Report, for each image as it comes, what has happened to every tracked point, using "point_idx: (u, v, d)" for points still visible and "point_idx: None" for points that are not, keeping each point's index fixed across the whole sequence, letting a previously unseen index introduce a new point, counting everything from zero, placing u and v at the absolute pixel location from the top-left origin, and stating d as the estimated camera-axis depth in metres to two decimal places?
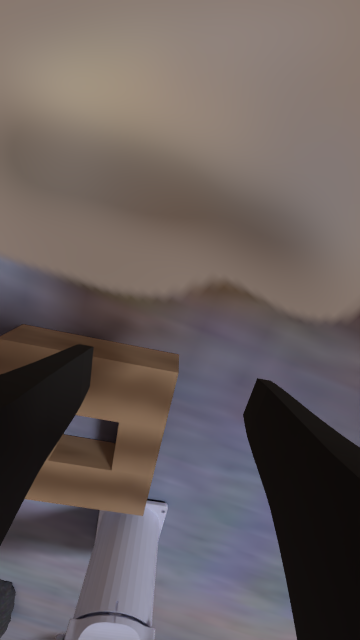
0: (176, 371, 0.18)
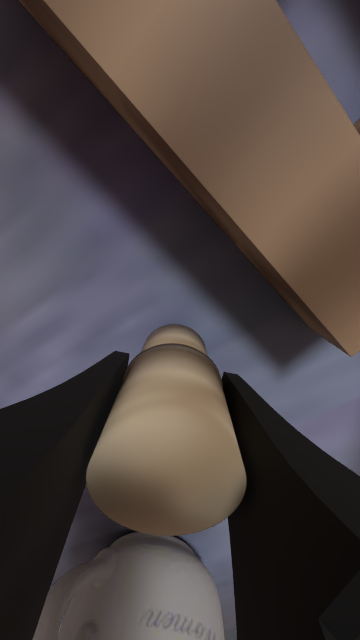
0: None
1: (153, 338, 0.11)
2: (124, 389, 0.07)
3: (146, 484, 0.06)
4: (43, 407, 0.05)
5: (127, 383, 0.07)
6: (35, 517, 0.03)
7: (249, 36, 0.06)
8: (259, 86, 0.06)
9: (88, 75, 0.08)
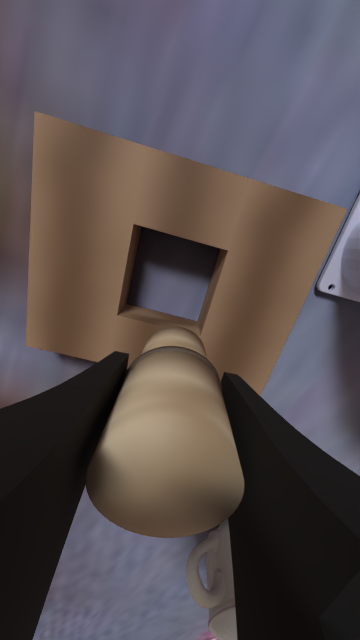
0: (36, 116, 0.12)
1: (152, 341, 0.11)
2: (122, 394, 0.07)
3: (145, 488, 0.06)
4: (43, 406, 0.05)
5: (125, 387, 0.07)
6: (35, 517, 0.03)
7: (142, 333, 0.16)
8: None
9: None
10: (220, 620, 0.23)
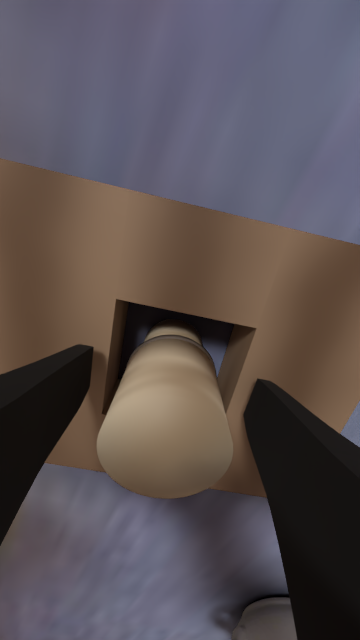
0: None
1: (152, 332, 0.12)
2: (126, 374, 0.08)
3: (147, 451, 0.07)
4: None
5: (129, 369, 0.08)
6: None
7: None
8: None
9: None
10: None
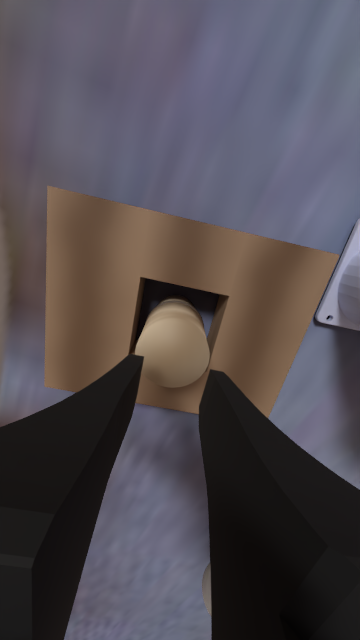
0: (48, 189, 0.13)
1: (161, 302, 0.17)
2: (149, 320, 0.13)
3: (163, 355, 0.12)
4: (72, 412, 0.05)
5: (150, 318, 0.14)
6: (75, 523, 0.04)
7: None
8: None
9: None
10: None
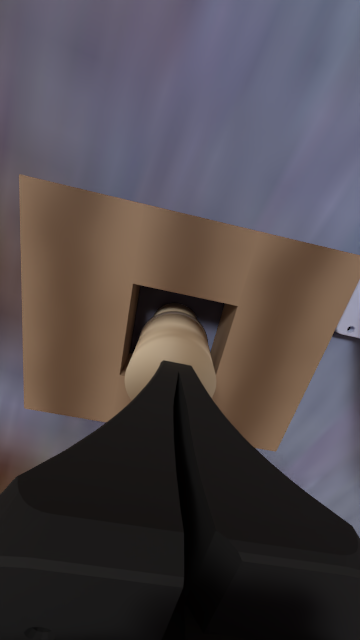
0: (21, 178, 0.11)
1: (158, 312, 0.15)
2: (142, 336, 0.11)
3: None
4: (137, 423, 0.05)
5: (144, 333, 0.11)
6: None
7: None
8: None
9: None
10: None
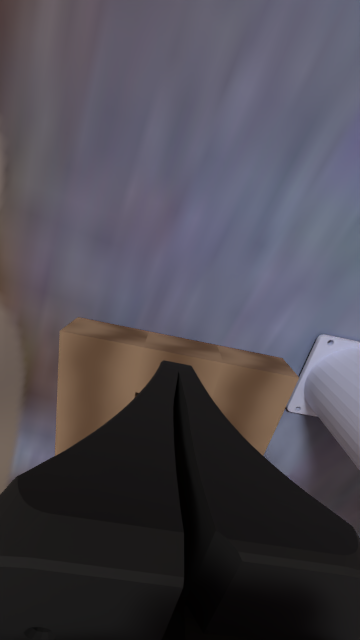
0: (60, 332, 0.16)
1: None
2: None
3: None
4: (136, 423, 0.05)
5: None
6: None
7: None
8: None
9: None
10: None
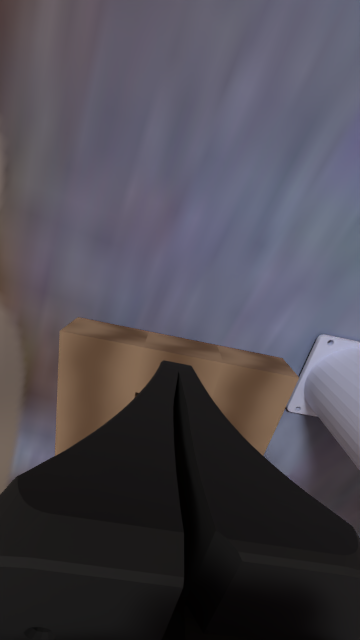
0: (60, 332, 0.16)
1: None
2: None
3: None
4: (136, 423, 0.05)
5: None
6: None
7: None
8: None
9: None
10: None
